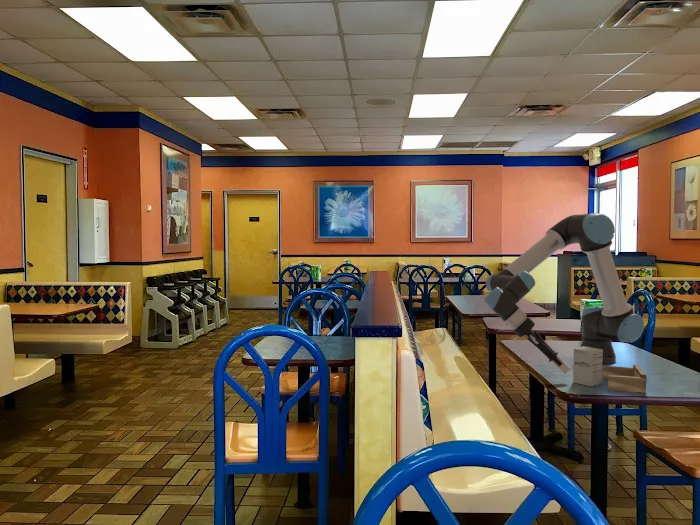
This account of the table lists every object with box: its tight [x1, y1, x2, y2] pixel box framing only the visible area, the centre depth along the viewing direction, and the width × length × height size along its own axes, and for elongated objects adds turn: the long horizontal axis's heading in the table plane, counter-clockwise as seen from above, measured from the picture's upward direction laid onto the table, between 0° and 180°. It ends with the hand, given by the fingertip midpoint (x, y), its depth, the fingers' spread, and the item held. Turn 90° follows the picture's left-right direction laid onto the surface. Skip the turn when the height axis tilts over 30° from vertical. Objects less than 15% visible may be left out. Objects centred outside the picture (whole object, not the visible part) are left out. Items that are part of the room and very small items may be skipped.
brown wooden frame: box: [602, 363, 647, 394], centre depth 203 cm, size 17×12×6 cm
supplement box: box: [572, 346, 603, 387], centre depth 207 cm, size 7×7×13 cm
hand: (567, 371), depth 209 cm, fingers closed
